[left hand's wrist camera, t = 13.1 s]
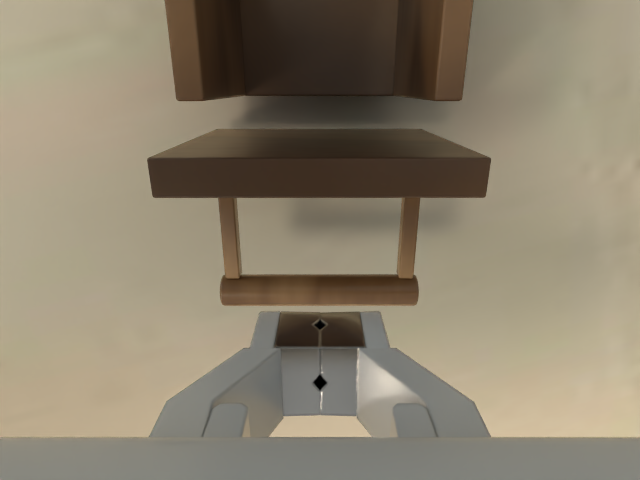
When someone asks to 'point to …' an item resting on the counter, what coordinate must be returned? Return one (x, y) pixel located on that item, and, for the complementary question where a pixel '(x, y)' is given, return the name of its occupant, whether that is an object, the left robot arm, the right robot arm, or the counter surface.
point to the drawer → (319, 144)
